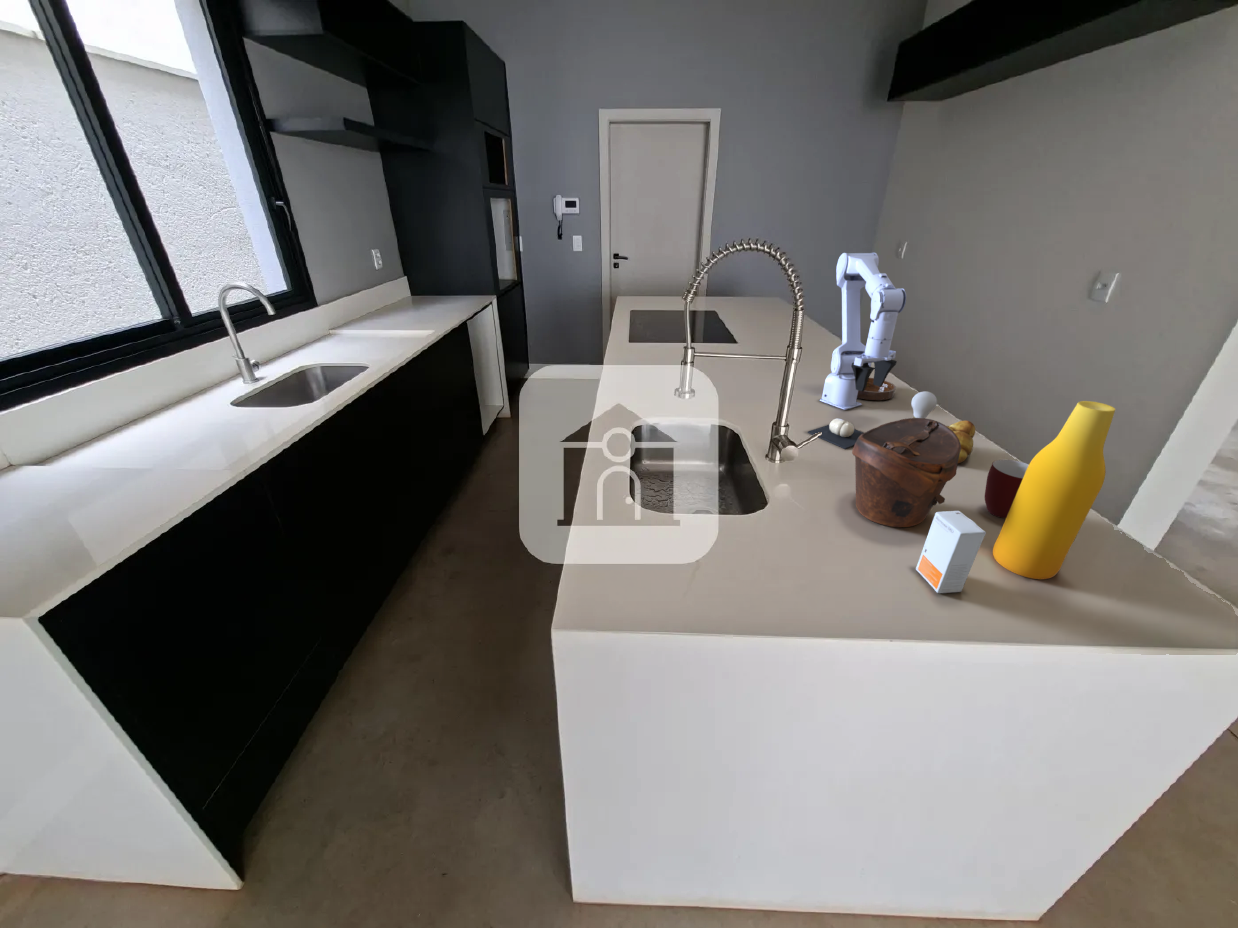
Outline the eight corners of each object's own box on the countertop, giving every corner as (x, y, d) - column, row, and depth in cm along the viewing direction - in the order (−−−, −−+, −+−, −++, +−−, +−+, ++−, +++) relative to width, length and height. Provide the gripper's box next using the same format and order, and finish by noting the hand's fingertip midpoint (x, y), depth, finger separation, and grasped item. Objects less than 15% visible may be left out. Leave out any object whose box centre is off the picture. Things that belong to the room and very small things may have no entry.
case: (840, 529, 95) (860, 445, 87) (840, 480, 111) (857, 406, 103) (946, 549, 89) (979, 461, 81) (930, 495, 105) (956, 417, 97)
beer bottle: (1040, 550, 89) (1113, 397, 75) (1068, 584, 81) (1157, 420, 67) (982, 543, 91) (1043, 393, 77) (1004, 576, 83) (1077, 415, 69)
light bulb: (923, 422, 140) (933, 388, 135) (933, 430, 135) (943, 396, 130) (901, 421, 140) (910, 388, 136) (910, 430, 135) (920, 395, 130)
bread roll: (970, 470, 115) (982, 439, 111) (923, 461, 119) (932, 431, 115) (967, 448, 125) (977, 419, 121) (923, 441, 129) (931, 412, 125)
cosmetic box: (914, 569, 84) (934, 511, 79) (937, 568, 85) (959, 509, 79) (937, 594, 79) (960, 533, 73) (962, 592, 79) (987, 531, 74)
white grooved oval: (826, 433, 134) (825, 421, 132) (836, 425, 135) (836, 413, 133) (846, 442, 129) (846, 429, 127) (857, 434, 130) (857, 421, 128)
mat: (807, 432, 134) (807, 431, 134) (836, 423, 140) (837, 422, 140) (845, 449, 125) (845, 447, 125) (875, 438, 131) (875, 437, 130)
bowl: (832, 390, 163) (833, 382, 162) (861, 382, 170) (863, 374, 169) (873, 405, 152) (875, 395, 150) (903, 395, 159) (906, 386, 157)
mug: (1039, 513, 99) (1059, 470, 94) (1040, 533, 93) (1061, 487, 88) (976, 497, 104) (993, 455, 100) (973, 515, 99) (991, 471, 94)
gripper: (876, 344, 122) (864, 396, 129) (911, 337, 129) (898, 387, 135) (851, 339, 128) (841, 389, 134) (886, 332, 134) (875, 380, 141)
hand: (868, 387), depth 135 cm, fingers open, 7 cm apart
